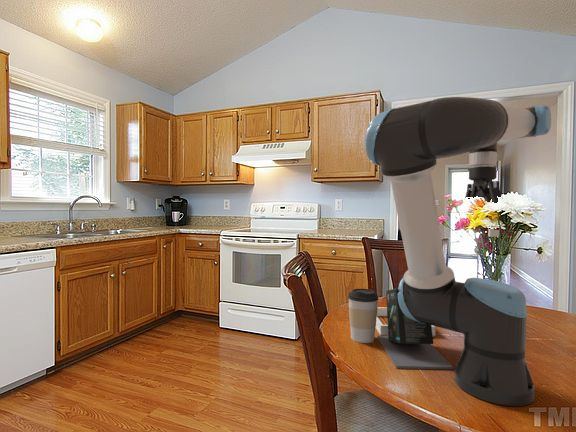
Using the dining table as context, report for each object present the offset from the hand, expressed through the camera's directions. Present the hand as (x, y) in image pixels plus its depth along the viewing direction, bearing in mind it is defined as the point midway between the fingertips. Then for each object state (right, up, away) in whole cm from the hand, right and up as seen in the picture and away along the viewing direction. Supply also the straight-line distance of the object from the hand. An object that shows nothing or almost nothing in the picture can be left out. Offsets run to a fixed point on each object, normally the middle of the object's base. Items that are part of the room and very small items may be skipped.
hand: (481, 234), depth 106 cm
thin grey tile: (-27, -32, -13) cm, 43 cm away
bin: (-23, -31, +9) cm, 40 cm away
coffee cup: (-38, -32, -3) cm, 50 cm away
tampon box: (-27, -30, -11) cm, 42 cm away
